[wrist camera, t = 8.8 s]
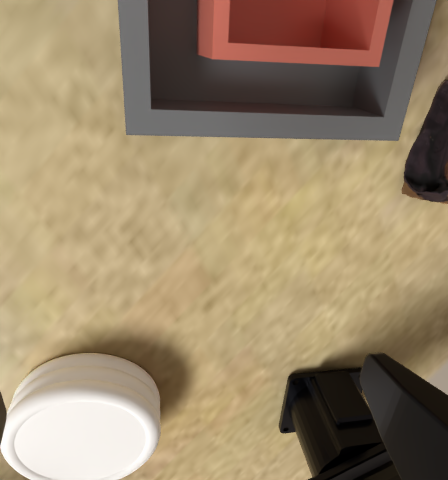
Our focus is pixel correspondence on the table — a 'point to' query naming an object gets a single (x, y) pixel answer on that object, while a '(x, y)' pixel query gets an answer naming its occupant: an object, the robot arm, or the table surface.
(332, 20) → the small crate
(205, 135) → the big crate
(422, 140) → the bread roll
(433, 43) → the table surface
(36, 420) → the white round container
